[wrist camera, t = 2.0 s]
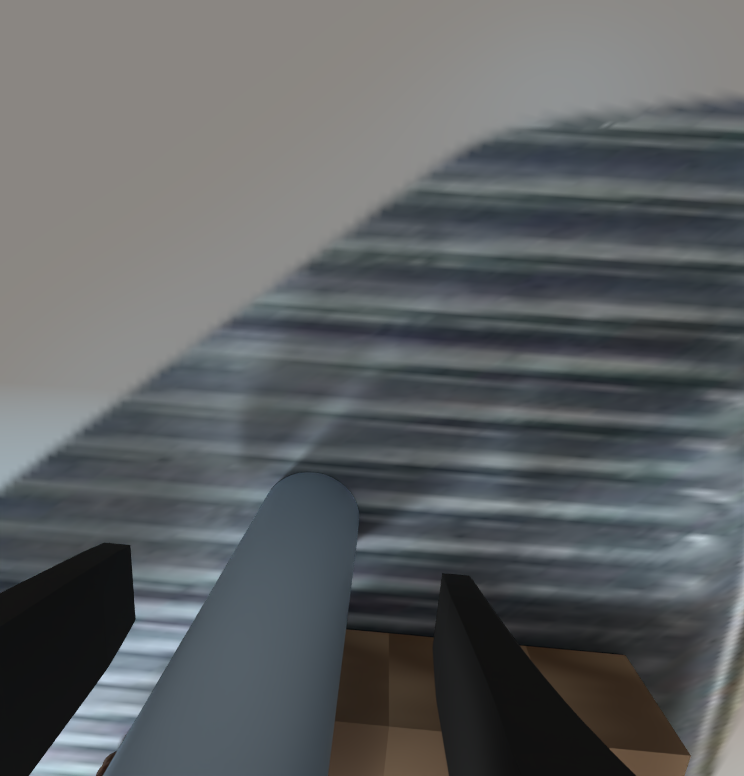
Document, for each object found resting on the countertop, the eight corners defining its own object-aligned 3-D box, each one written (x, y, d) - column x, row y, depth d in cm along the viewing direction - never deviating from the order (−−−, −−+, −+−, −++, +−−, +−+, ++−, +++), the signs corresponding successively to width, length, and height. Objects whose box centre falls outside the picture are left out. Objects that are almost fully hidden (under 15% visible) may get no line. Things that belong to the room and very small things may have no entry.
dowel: (262, 554, 13) (-33, 1177, 4) (263, 467, 12) (-92, 976, 3) (355, 563, 13) (280, 1216, 4) (362, 476, 12) (289, 1019, 3)
